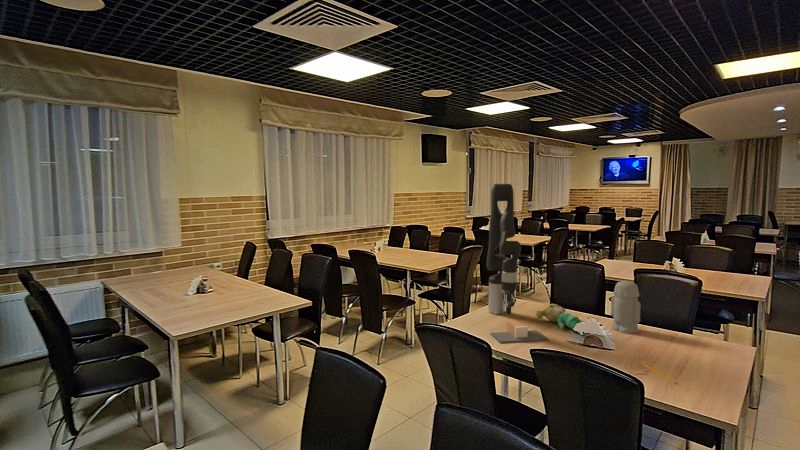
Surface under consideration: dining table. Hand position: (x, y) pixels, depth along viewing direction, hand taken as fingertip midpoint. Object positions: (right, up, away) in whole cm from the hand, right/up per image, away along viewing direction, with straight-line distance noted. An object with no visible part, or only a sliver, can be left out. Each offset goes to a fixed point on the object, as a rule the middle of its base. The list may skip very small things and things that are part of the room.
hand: (508, 313), depth 216 cm
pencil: (+44, -13, -51) cm, 69 cm away
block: (+1, -5, -5) cm, 7 cm away
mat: (+2, -9, -12) cm, 15 cm away
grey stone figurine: (+58, -8, -1) cm, 58 cm away
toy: (+30, -8, +5) cm, 32 cm away
